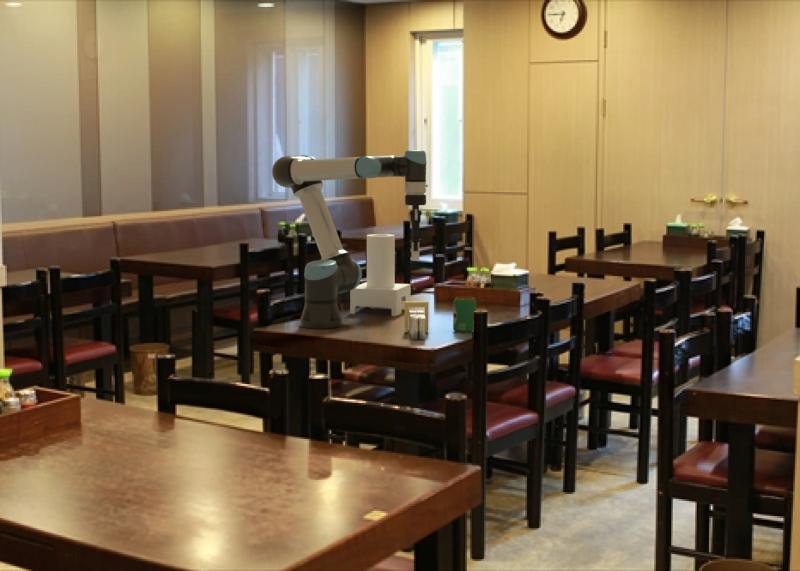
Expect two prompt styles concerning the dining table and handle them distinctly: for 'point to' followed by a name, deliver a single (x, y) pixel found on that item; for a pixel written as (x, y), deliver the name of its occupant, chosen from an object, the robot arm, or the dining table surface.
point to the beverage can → (463, 314)
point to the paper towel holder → (380, 278)
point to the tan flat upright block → (416, 304)
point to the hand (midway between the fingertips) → (415, 260)
